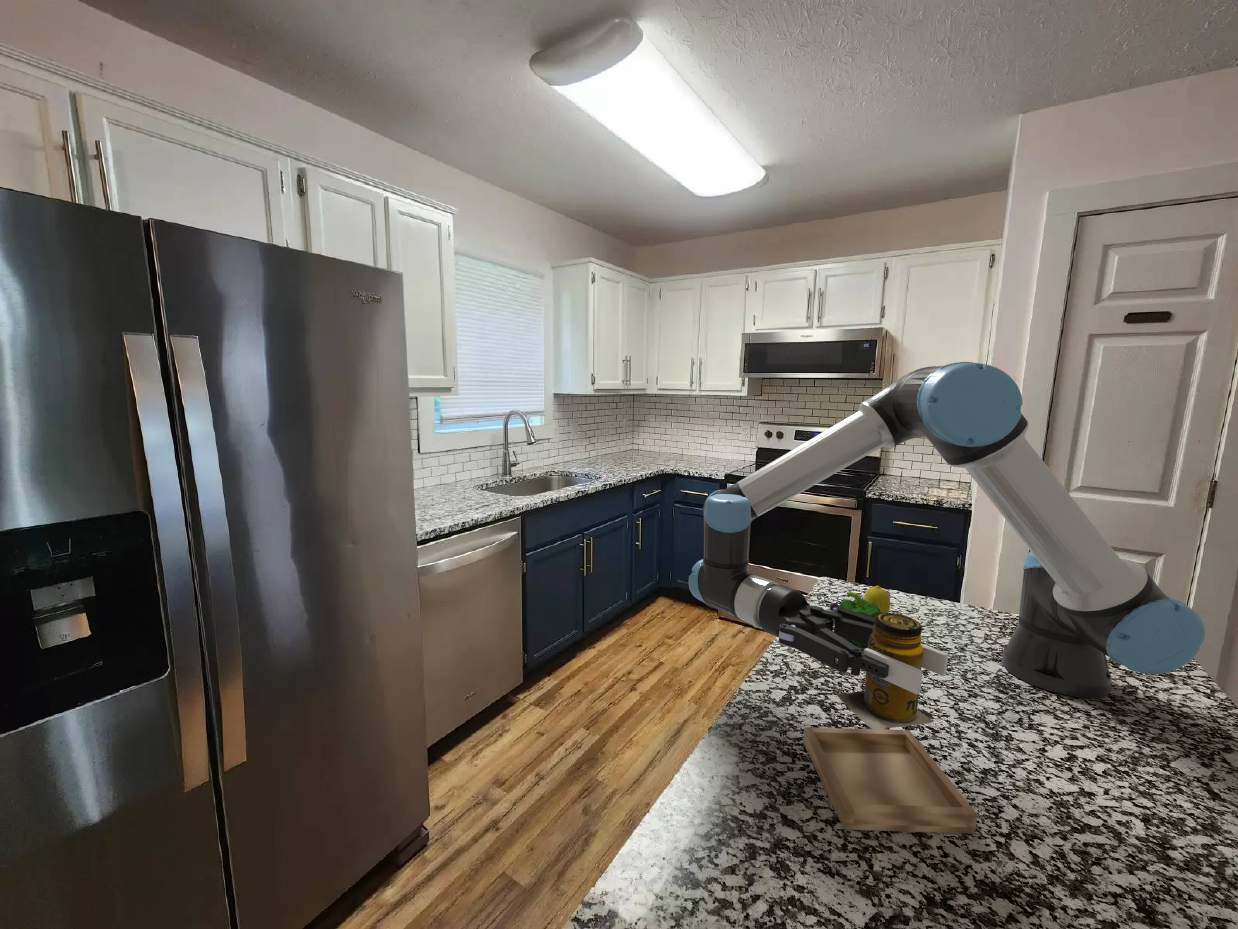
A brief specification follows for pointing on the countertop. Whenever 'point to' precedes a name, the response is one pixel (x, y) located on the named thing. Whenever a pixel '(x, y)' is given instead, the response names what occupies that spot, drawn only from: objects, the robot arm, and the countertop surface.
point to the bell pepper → (860, 609)
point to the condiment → (880, 697)
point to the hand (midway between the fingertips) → (932, 673)
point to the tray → (886, 782)
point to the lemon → (878, 598)
